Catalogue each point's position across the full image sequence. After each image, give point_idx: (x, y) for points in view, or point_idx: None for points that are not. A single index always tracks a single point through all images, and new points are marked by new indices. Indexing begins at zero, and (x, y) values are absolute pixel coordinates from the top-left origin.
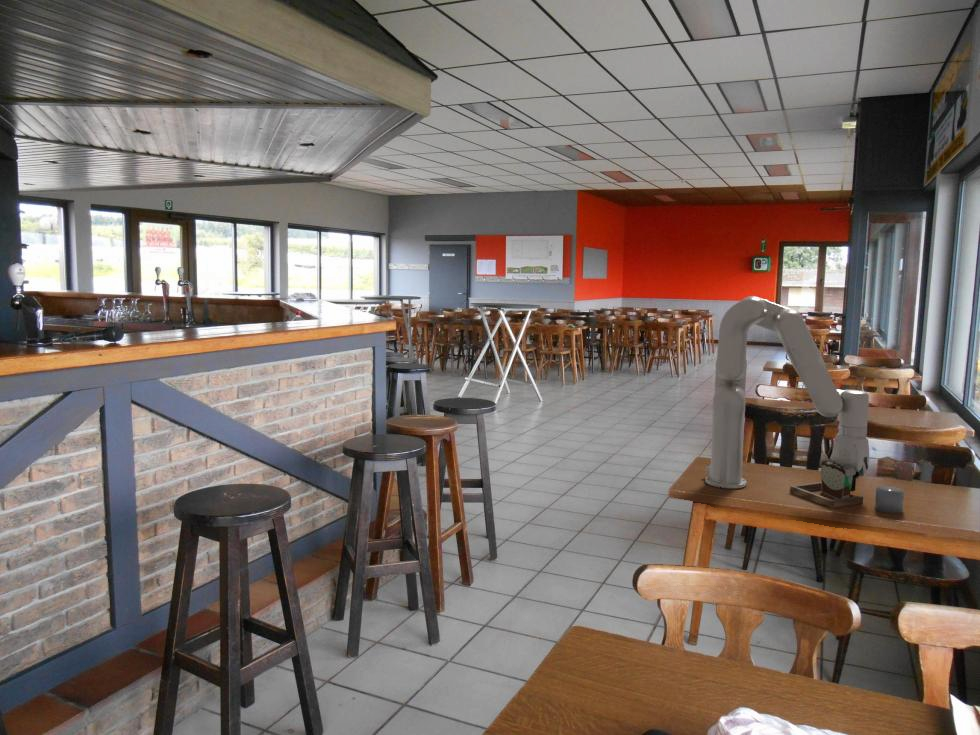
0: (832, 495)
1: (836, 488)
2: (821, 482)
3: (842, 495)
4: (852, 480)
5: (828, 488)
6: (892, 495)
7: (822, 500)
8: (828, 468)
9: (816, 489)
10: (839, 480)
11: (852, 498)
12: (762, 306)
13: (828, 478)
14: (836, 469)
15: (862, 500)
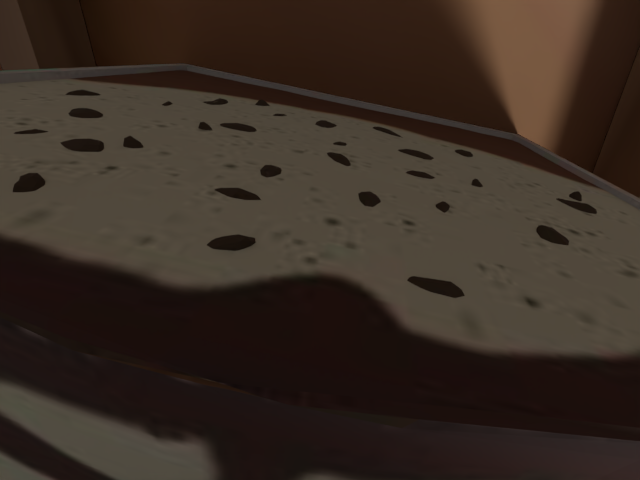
0: (337, 103)
1: (244, 101)
2: (582, 169)
3: (143, 67)
4: None
5: (413, 127)
6: None
7: None
8: (554, 303)
9: (606, 146)
10: (104, 115)
11: (2, 65)
12: None
13: (450, 173)
14: (56, 243)
15: None
